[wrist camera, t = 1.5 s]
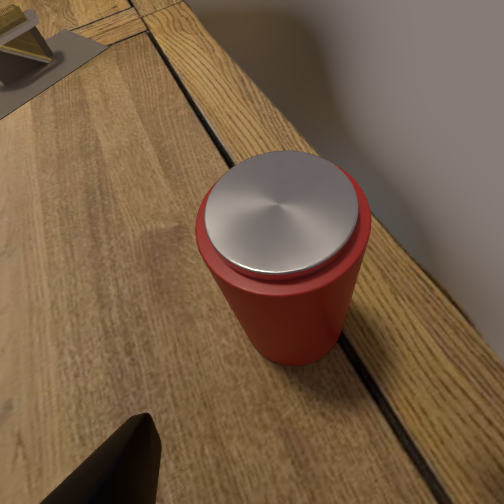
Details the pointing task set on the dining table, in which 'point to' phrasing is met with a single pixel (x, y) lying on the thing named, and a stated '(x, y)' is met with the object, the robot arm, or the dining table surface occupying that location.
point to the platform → (35, 57)
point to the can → (286, 250)
